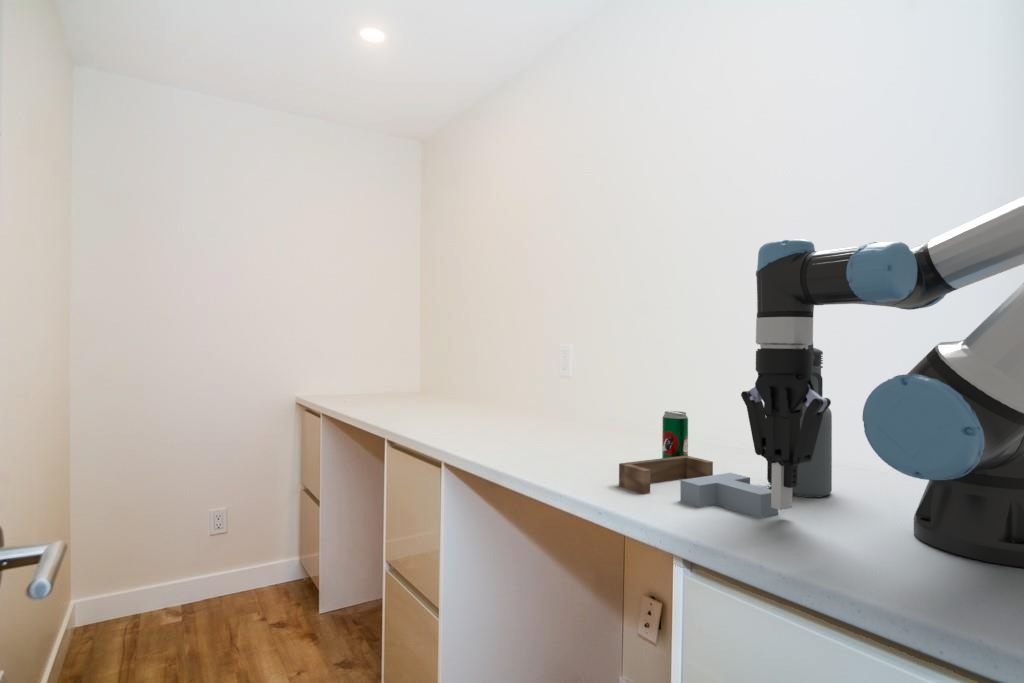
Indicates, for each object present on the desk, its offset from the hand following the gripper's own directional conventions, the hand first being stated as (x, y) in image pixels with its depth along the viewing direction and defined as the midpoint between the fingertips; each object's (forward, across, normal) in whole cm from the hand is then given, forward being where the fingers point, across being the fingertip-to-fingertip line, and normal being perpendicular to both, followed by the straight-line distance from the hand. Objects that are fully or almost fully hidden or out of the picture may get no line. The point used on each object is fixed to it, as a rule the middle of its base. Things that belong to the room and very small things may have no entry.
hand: (781, 507), depth 79 cm
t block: (+2, +8, 0) cm, 8 cm away
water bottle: (+2, +9, -18) cm, 20 cm away
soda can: (+2, +31, -10) cm, 33 cm away
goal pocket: (+2, +23, 0) cm, 23 cm away
